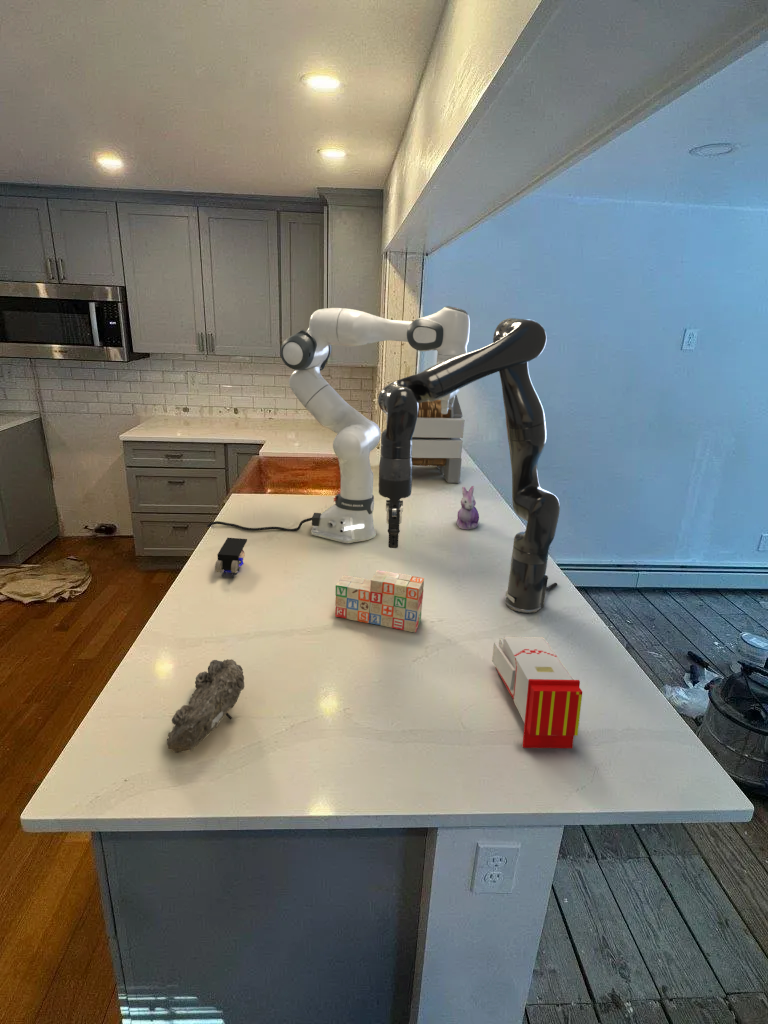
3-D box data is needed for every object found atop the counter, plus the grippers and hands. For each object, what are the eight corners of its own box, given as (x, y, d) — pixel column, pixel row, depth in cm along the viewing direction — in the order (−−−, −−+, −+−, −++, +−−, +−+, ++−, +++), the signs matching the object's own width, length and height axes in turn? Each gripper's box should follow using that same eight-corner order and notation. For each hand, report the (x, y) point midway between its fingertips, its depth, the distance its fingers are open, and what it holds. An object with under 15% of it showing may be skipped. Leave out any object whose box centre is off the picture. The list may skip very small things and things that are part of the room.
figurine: (464, 532, 204) (468, 492, 199) (449, 522, 212) (452, 484, 207) (486, 528, 208) (490, 489, 203) (469, 519, 216) (473, 481, 211)
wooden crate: (382, 463, 289) (386, 382, 275) (445, 464, 293) (451, 384, 279) (390, 482, 257) (394, 392, 243) (460, 483, 261) (468, 394, 247)
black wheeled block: (238, 584, 162) (249, 557, 175) (236, 562, 158) (247, 536, 172) (215, 584, 161) (227, 556, 175) (212, 561, 158) (225, 535, 171)
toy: (540, 620, 128) (592, 687, 99) (535, 674, 131) (584, 755, 102) (487, 619, 128) (523, 686, 99) (483, 673, 131) (517, 754, 101)
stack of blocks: (334, 617, 145) (335, 573, 140) (342, 606, 150) (343, 563, 146) (416, 632, 139) (419, 588, 135) (421, 620, 145) (424, 577, 141)
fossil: (192, 660, 117) (244, 628, 112) (224, 691, 120) (276, 661, 115) (142, 746, 98) (202, 712, 93) (182, 779, 101) (242, 748, 96)
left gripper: (446, 361, 179) (442, 405, 184) (434, 366, 160) (430, 415, 165) (466, 363, 177) (462, 407, 182) (456, 368, 159) (452, 417, 163)
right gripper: (412, 484, 122) (409, 553, 127) (411, 466, 135) (408, 529, 141) (377, 483, 122) (376, 552, 128) (379, 465, 135) (378, 528, 141)
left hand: (447, 411), depth 173 cm, fingers open, 8 cm apart
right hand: (393, 540), depth 134 cm, fingers open, 8 cm apart
